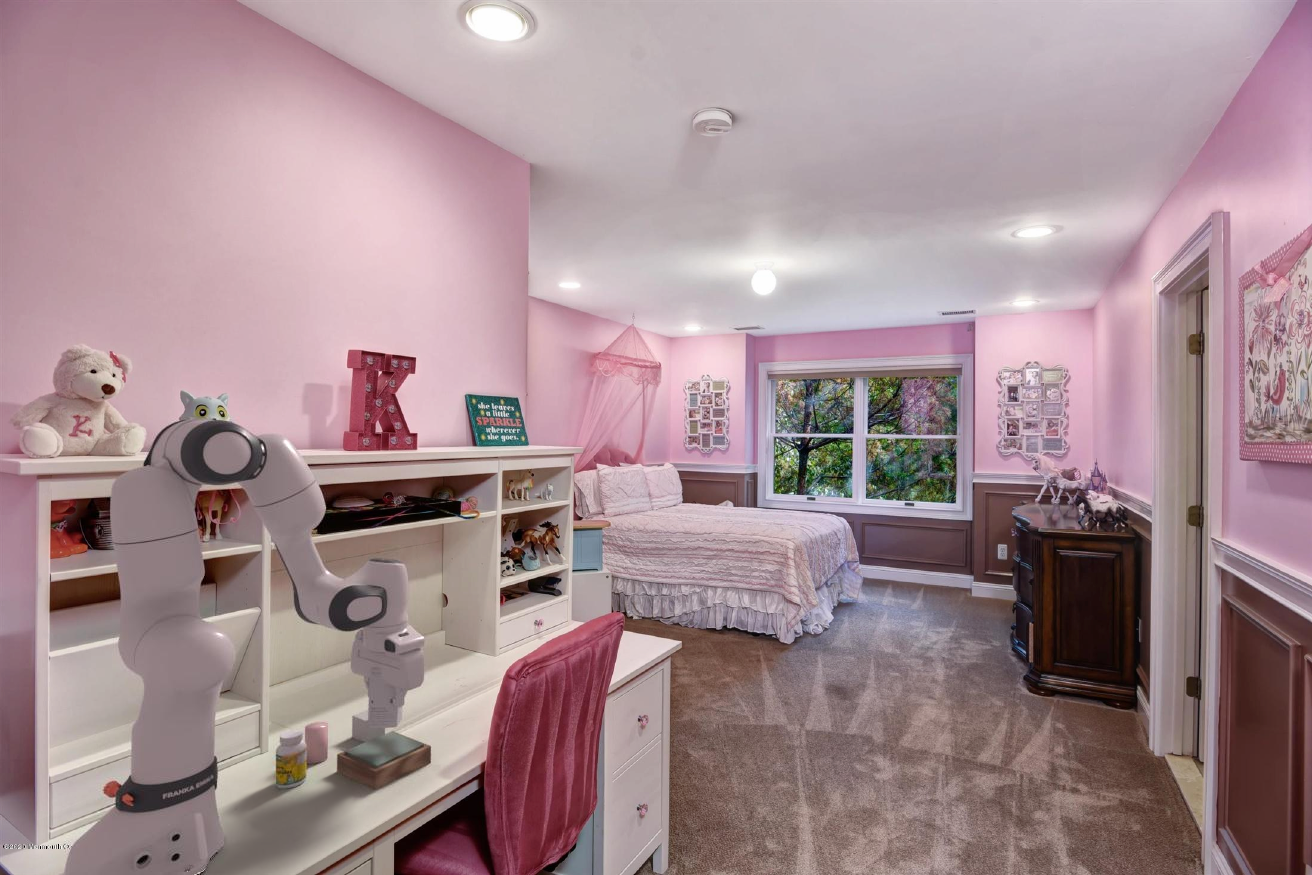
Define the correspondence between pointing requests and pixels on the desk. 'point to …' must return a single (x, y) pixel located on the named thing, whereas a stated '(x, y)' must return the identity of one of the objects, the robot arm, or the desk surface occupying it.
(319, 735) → the pink pillar
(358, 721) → the light gray block
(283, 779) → the supplement bottle
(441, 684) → the desk surface
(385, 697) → the skincare box
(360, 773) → the tray
